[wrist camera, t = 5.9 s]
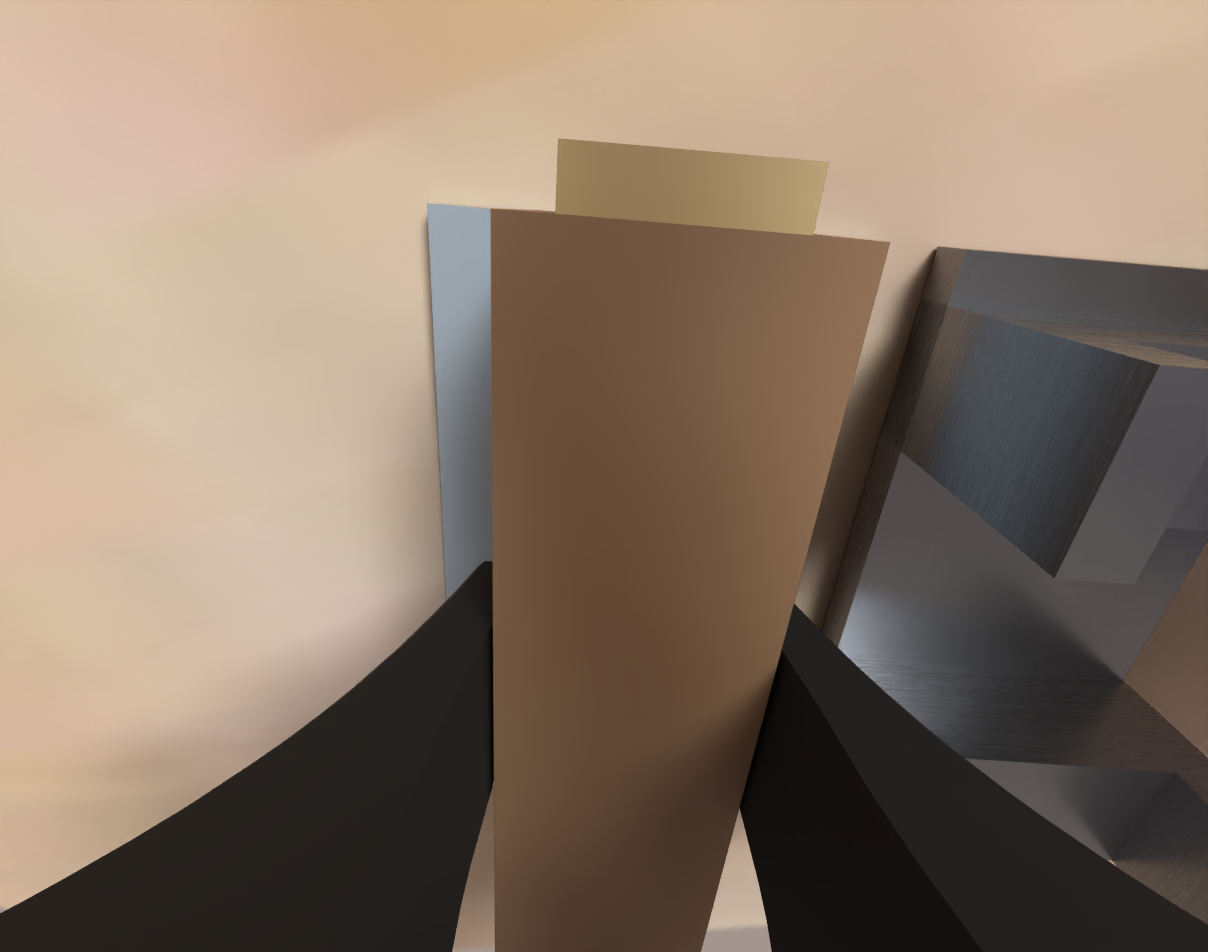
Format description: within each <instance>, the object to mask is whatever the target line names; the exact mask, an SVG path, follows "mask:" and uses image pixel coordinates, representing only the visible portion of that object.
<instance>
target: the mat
mask: <svg viewBox="0 0 1208 952" xmlns="http://www.w3.org/2000/svg"><path fill="white" fill-rule="evenodd" d="M427 211H428V231H429V252H430V273H431V293H432V314H433V335H434V355H435V376H436V397H437V417H438V438H439V459H440V479H441V500H442V521H443V541H444V562H445V583H446V600H447V599H448V598H449V597H450V596H451V595H452V594H453V593H454V592H455V591H456V590H457V589H458V588H459V587H460V585H461V584H462V583H463V582H464V581H465V580H466V579H467V578H468V577H469V576H470V574H471V573H472V572H473V571H474V570H475V569H476V568H477V567H478V566H479V565H480V564H481V563H483V562H484V561H493V538H492V375H491V213H490V209H489V208H477V207H465V206H453V205H441V204H427ZM492 787H494V783H493V786H492Z"/></svg>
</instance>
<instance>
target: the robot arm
mask: <svg viewBox="0 0 1208 952" xmlns="http://www.w3.org/2000/svg"><path fill="white" fill-rule="evenodd" d="M493 783H494V700H493V561H484V562H483V563H481V564H480V565H479V566H478V567H477V568H476V569H475V570H474V571H473V572H472V573H471V574H470V576H469V577H468V578H467V579H466V580H465V581H464V582H463V583H462V584H461V585H460V587H459V588H458V589H457V590H456V591H455V592H454V593H453V594H452V595H451V596H450V597H449V598H448V599H447V600H446V601H445V603H444V604H443V605H442V606H441V607H440V608H439V609H438V610H437V611H436V612H435V613H434V614H433V615H432V616H431V617H430V618H429V619H428V620H427V621H426V622H425V623H424V624H423V625H422V626H421V627H420V628H419V629H418V630H417V631H416V632H415V633H414V634H413V635H412V636H411V637H409V638H408V639H407V640H406V641H405V642H404V643H403V644H402V645H401V646H400V647H399V648H398V649H397V650H396V651H395V652H393V653H392V654H391V655H390V656H389V657H388V658H387V659H385V660H384V661H383V662H382V663H381V664H380V665H379V666H378V667H376V668H375V669H374V670H373V671H372V672H371V673H370V674H369V675H367V676H366V677H365V678H364V679H363V680H362V681H361V682H359V683H358V684H357V685H356V686H355V687H354V688H352V689H351V690H350V691H349V692H348V693H346V694H345V695H344V696H343V697H341V698H340V699H339V700H338V701H336V702H335V703H334V704H333V705H331V706H330V707H329V708H328V709H326V710H325V711H324V712H323V713H321V714H320V715H319V716H317V717H316V718H315V719H313V720H312V721H311V722H309V723H308V724H307V725H305V726H304V727H303V728H302V729H300V730H299V731H298V732H296V733H295V734H294V735H292V736H291V737H290V738H288V739H287V740H285V741H284V742H283V743H281V744H280V745H278V746H277V747H275V748H274V749H273V750H271V751H270V752H268V753H267V754H265V755H264V756H262V757H261V758H260V759H258V760H257V761H255V762H254V763H252V764H251V765H249V766H248V767H246V768H245V769H243V770H242V771H240V772H239V773H237V774H236V775H234V776H233V777H231V778H230V779H228V780H227V781H225V782H224V783H222V784H221V785H219V786H218V787H216V788H214V789H213V790H211V791H210V792H208V793H207V794H205V795H204V796H202V797H201V798H199V799H198V800H196V801H195V802H193V803H192V804H190V805H189V806H187V807H185V808H184V809H182V810H180V811H179V812H177V813H176V814H174V815H172V816H171V817H169V818H167V819H166V820H164V821H162V822H161V823H159V824H157V825H156V826H154V827H152V828H151V829H149V830H147V831H146V832H144V833H142V834H141V835H139V836H137V837H136V838H134V839H132V840H131V841H129V842H127V843H126V844H124V845H122V846H120V847H119V848H117V849H115V850H113V851H112V852H110V853H108V854H107V855H105V856H103V857H101V858H100V859H98V860H96V861H94V862H93V863H91V864H89V865H87V866H86V867H84V868H82V869H80V870H79V871H77V872H75V873H73V874H72V875H70V876H68V877H66V878H65V879H63V880H61V881H59V882H57V883H56V884H54V885H52V886H50V887H48V888H46V889H45V890H43V891H41V892H39V893H37V894H36V895H34V896H32V897H30V898H28V899H27V900H25V901H23V902H21V903H19V904H17V905H15V906H13V907H11V908H10V909H8V910H6V911H4V912H2V913H0V952H452V949H453V944H454V939H455V934H456V928H457V923H458V918H459V913H460V908H461V903H462V898H463V894H464V890H465V886H466V882H467V878H468V873H469V869H470V865H471V862H472V858H473V854H474V851H475V847H476V844H477V840H478V836H479V833H480V829H481V826H482V822H483V818H484V815H485V811H486V808H487V804H488V801H489V797H490V793H491V790H492V786H493ZM740 811H741V815H742V819H743V823H744V827H745V831H746V835H747V839H748V843H749V847H750V851H751V855H752V858H753V862H754V866H755V870H756V874H757V878H758V882H759V887H760V891H761V896H762V901H763V905H764V910H765V915H766V919H767V925H768V931H769V937H770V943H771V949H772V952H1208V924H1206V923H1204V922H1203V921H1201V920H1200V919H1198V918H1196V917H1195V916H1193V915H1191V914H1190V913H1188V912H1186V911H1185V910H1183V909H1182V908H1180V907H1178V906H1177V905H1175V904H1174V903H1172V902H1170V901H1169V900H1167V899H1166V898H1164V897H1163V896H1161V895H1159V894H1158V893H1156V892H1155V891H1153V890H1152V889H1150V888H1149V887H1147V886H1145V885H1144V884H1142V883H1141V882H1139V881H1138V880H1136V879H1134V878H1133V877H1131V876H1130V875H1128V874H1127V873H1125V872H1124V871H1122V870H1121V869H1119V868H1117V867H1116V866H1114V865H1113V864H1111V863H1110V862H1109V861H1107V860H1106V859H1104V858H1103V857H1101V856H1100V855H1098V854H1097V853H1095V852H1094V851H1092V850H1091V849H1089V848H1088V847H1087V846H1085V845H1084V844H1082V843H1081V842H1079V841H1078V840H1076V839H1075V838H1073V837H1072V836H1070V835H1069V834H1067V833H1066V832H1064V831H1063V830H1062V829H1060V828H1059V827H1057V826H1056V825H1054V824H1053V823H1051V822H1050V821H1048V820H1047V819H1045V818H1044V817H1043V816H1041V815H1040V814H1038V813H1037V812H1036V811H1034V810H1033V809H1031V808H1030V807H1029V806H1027V805H1026V804H1025V803H1023V802H1022V801H1020V800H1019V799H1018V798H1016V797H1015V796H1013V795H1012V794H1011V793H1009V792H1008V791H1007V790H1005V789H1004V788H1003V787H1001V786H1000V785H999V784H997V783H996V782H995V781H994V780H992V779H991V778H990V777H988V776H987V775H986V774H984V773H983V772H982V771H981V770H979V769H978V768H977V767H975V766H974V765H973V764H971V763H970V762H969V761H967V760H966V759H965V758H964V757H962V756H961V755H960V754H958V753H957V752H956V751H954V750H953V749H952V748H951V747H949V746H948V745H947V744H946V743H945V742H943V741H942V740H941V739H940V738H938V737H937V736H936V735H935V734H933V733H932V732H931V731H930V730H929V729H927V728H926V727H925V726H924V725H923V724H922V723H921V722H919V721H918V720H917V719H916V718H915V717H914V716H912V715H911V714H910V713H909V712H908V711H907V710H906V709H904V708H903V707H902V706H901V705H900V704H899V703H897V702H896V701H895V700H894V699H893V698H892V697H891V696H889V695H888V694H887V693H886V692H885V691H884V690H883V689H882V688H881V687H879V686H878V685H877V684H876V683H875V682H874V681H873V680H872V679H871V678H870V677H869V676H867V675H866V674H865V673H864V672H863V671H862V670H861V669H860V668H859V667H858V666H857V665H856V664H855V663H854V662H853V661H852V660H851V659H849V658H848V657H847V656H846V655H845V654H844V653H843V652H842V651H841V650H840V649H839V648H838V647H837V646H836V645H835V644H834V643H833V642H832V641H831V640H830V639H829V638H828V637H827V636H826V635H825V634H824V633H823V632H822V631H821V630H820V629H819V628H818V627H817V626H816V625H815V624H814V623H813V622H812V621H811V620H810V619H809V618H808V617H807V616H806V615H805V614H804V613H803V612H802V611H801V610H800V609H799V608H798V607H797V606H796V605H795V604H794V605H793V608H792V612H791V616H790V620H789V623H788V627H787V631H786V635H785V638H784V642H783V646H782V650H781V653H780V657H779V661H778V665H777V668H776V672H775V676H774V680H773V683H772V687H771V691H770V695H769V698H768V702H767V706H766V709H765V713H764V717H763V721H762V724H761V728H760V732H759V736H758V739H757V743H756V747H755V751H754V754H753V758H752V762H751V766H750V769H749V773H748V777H747V781H746V784H745V788H744V792H743V796H742V799H741V803H740Z"/></svg>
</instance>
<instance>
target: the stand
mask: <svg viewBox="0 0 1208 952" xmlns="http://www.w3.org/2000/svg"><path fill="white" fill-rule="evenodd" d="M1207 541H1208V269H1196V268H1184V267H1172V266H1161V265H1149V264H1137V263H1125V262H1113V261H1102V260H1090V259H1078V258H1066V257H1054V256H1043V255H1031V254H1019V253H1007V252H996V251H984V250H972V249H960V248H948V247H937V250H936V253H935V257H934V260H933V263H932V267H931V270H930V273H929V277H928V280H927V283H926V287H925V290H924V293H923V297H922V300H921V303H920V307H919V310H918V313H917V317H916V320H915V323H914V327H913V330H912V333H911V337H910V340H909V343H908V347H907V350H906V353H905V357H904V360H903V363H902V366H901V370H900V373H899V376H898V380H897V383H896V386H895V390H894V393H893V396H892V400H891V403H890V406H889V410H888V413H887V416H886V420H885V423H884V426H883V430H882V433H881V436H880V440H879V443H878V446H877V450H876V453H875V456H874V460H873V463H872V466H871V470H870V473H869V476H868V480H867V483H866V486H865V490H864V493H863V496H862V499H861V503H860V506H859V509H858V513H857V516H856V519H855V523H854V526H853V529H852V533H851V536H850V539H849V543H848V546H847V549H846V553H845V556H844V559H843V563H842V566H841V569H840V573H839V576H838V579H837V583H836V586H835V589H834V593H833V596H832V599H831V603H830V606H829V609H828V613H827V616H826V619H825V623H824V626H823V629H822V632H823V633H824V634H825V635H826V636H827V637H828V638H829V639H830V640H831V641H832V642H833V643H834V644H835V645H836V646H837V647H838V648H839V649H840V650H841V651H842V652H843V653H844V654H845V655H846V656H847V657H848V658H849V659H851V660H852V661H853V662H854V663H855V664H856V665H857V666H858V667H859V668H860V669H861V670H862V671H863V672H864V673H865V674H866V675H867V676H869V677H870V678H871V679H872V680H873V681H874V682H875V683H876V684H877V685H878V686H879V687H881V688H882V689H883V690H884V691H885V692H886V693H887V694H888V695H889V696H891V697H892V698H893V699H894V700H895V701H896V702H897V703H899V704H900V705H901V706H902V707H903V708H904V709H906V710H907V711H908V712H909V713H910V714H911V715H912V716H914V717H915V718H916V719H917V720H918V721H919V722H921V723H922V724H923V725H924V726H925V727H926V728H927V729H929V730H930V731H931V732H932V733H933V734H935V735H936V736H937V737H938V738H940V739H941V740H942V741H943V742H945V743H946V744H947V745H948V746H949V747H951V748H952V749H953V750H954V751H956V752H957V753H958V754H960V755H961V756H962V757H964V758H965V759H966V760H967V761H969V762H970V763H971V764H973V765H974V766H975V767H977V768H978V769H979V770H981V771H982V772H983V773H984V774H986V775H987V776H988V777H990V778H991V779H992V780H994V781H995V782H996V783H997V784H999V785H1000V786H1001V787H1003V788H1004V789H1005V790H1007V791H1008V792H1009V793H1011V794H1012V795H1013V796H1015V797H1016V798H1018V799H1019V800H1020V801H1022V802H1023V803H1025V804H1026V805H1027V806H1029V807H1030V808H1031V809H1033V810H1034V811H1036V812H1037V813H1038V814H1040V815H1041V816H1043V817H1044V818H1045V819H1047V820H1048V821H1050V822H1051V823H1053V824H1054V825H1056V826H1057V827H1059V828H1060V829H1062V830H1063V831H1064V832H1066V833H1067V834H1069V835H1070V836H1072V837H1073V838H1075V839H1076V840H1078V841H1079V842H1081V843H1082V844H1084V845H1085V846H1087V847H1088V848H1089V849H1091V850H1092V851H1094V852H1095V853H1097V854H1098V855H1100V856H1101V857H1103V858H1104V859H1106V860H1112V861H1113V862H1114V863H1115V864H1116V866H1117V867H1118V868H1119V869H1121V870H1122V871H1124V872H1125V873H1127V874H1128V875H1130V876H1131V877H1133V878H1134V879H1136V880H1138V881H1139V882H1141V883H1142V884H1144V885H1145V886H1147V887H1149V888H1150V889H1152V890H1153V891H1155V892H1156V893H1158V894H1159V895H1161V896H1163V897H1164V898H1166V899H1167V900H1169V901H1170V902H1172V903H1174V904H1175V905H1177V906H1178V907H1180V908H1182V909H1183V910H1185V911H1186V912H1188V913H1190V914H1191V915H1193V916H1195V917H1196V918H1198V919H1200V920H1201V921H1203V922H1204V923H1206V924H1208V758H1207V757H1206V756H1205V755H1204V754H1203V753H1202V752H1201V751H1199V750H1198V749H1197V748H1196V747H1195V746H1194V745H1193V744H1192V743H1191V742H1190V741H1189V740H1187V739H1186V738H1185V737H1184V736H1183V735H1182V734H1181V733H1180V732H1179V731H1178V730H1177V729H1175V728H1174V727H1173V726H1172V725H1171V724H1170V723H1169V722H1168V721H1167V720H1166V719H1165V718H1163V717H1162V716H1161V715H1160V714H1159V713H1158V712H1157V711H1156V710H1155V709H1154V708H1153V707H1151V706H1150V705H1149V704H1148V703H1147V702H1146V701H1145V700H1144V699H1143V698H1142V697H1141V696H1139V695H1138V694H1137V693H1136V692H1135V691H1134V690H1133V689H1132V688H1131V687H1130V686H1129V685H1127V684H1126V683H1125V682H1124V681H1123V679H1124V677H1125V676H1126V674H1127V673H1128V671H1129V669H1130V668H1131V666H1132V664H1133V663H1134V661H1135V659H1136V658H1137V656H1138V654H1139V653H1140V651H1141V650H1142V648H1143V646H1144V645H1145V643H1146V641H1147V640H1148V638H1149V636H1150V635H1151V633H1152V631H1153V630H1154V628H1155V627H1156V625H1157V623H1158V622H1159V620H1160V618H1161V617H1162V615H1163V613H1164V612H1165V610H1166V609H1167V607H1168V605H1169V604H1170V602H1171V600H1172V599H1173V597H1174V595H1175V594H1176V592H1177V590H1178V589H1179V587H1180V586H1181V584H1182V582H1183V581H1184V579H1185V577H1186V576H1187V574H1188V572H1189V571H1190V569H1191V567H1192V566H1193V564H1194V563H1195V561H1196V559H1197V558H1198V556H1199V554H1200V553H1201V551H1202V549H1203V548H1204V546H1205V545H1206V543H1207Z"/></svg>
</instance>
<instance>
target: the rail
mask: <svg viewBox="0 0 1208 952" xmlns="http://www.w3.org/2000/svg"><path fill="white" fill-rule="evenodd" d="M828 164H829V162H823V161H811V160H800V159H788V158H777V157H765V156H754V155H742V154H731V153H720V152H708V151H697V150H685V149H674V148H662V147H651V146H639V145H628V144H616V143H605V142H593V141H582V140H571V139H559V138H558V157H557V184H556V211H555V212H552V211H540V210H515V209H490V213H491V375H492V538H493V700H494V863H495V952H701V949H702V945H703V942H704V938H705V934H706V931H707V927H708V923H709V919H710V916H711V912H712V908H713V904H714V901H715V897H716V893H717V889H718V886H719V882H720V878H721V874H722V871H723V867H724V863H725V859H726V856H727V852H728V848H729V844H730V841H731V837H732V833H733V829H734V826H735V822H736V818H737V814H738V811H739V807H740V803H741V799H742V796H743V792H744V788H745V784H746V781H747V777H748V773H749V769H750V766H751V762H752V758H753V754H754V751H755V747H756V743H757V739H758V736H759V732H760V728H761V724H762V721H763V717H764V713H765V709H766V706H767V702H768V698H769V695H770V691H771V687H772V683H773V680H774V676H775V672H776V668H777V665H778V661H779V657H780V653H781V650H782V646H783V642H784V638H785V635H786V631H787V627H788V623H789V620H790V616H791V612H792V608H793V605H794V601H795V597H796V593H797V590H798V586H799V582H800V578H801V575H802V571H803V567H804V563H805V560H806V556H807V552H808V548H809V545H810V541H811V537H812V533H813V530H814V526H815V522H816V518H817V515H818V511H819V507H820V503H821V500H822V496H823V492H824V488H825V485H826V481H827V477H828V473H829V470H830V466H831V462H832V459H833V455H834V451H835V447H836V444H837V440H838V436H839V432H840V429H841V425H842V421H843V417H844V414H845V410H846V406H847V402H848V399H849V395H850V391H851V387H852V384H853V380H854V376H855V372H856V369H857V365H858V361H859V357H860V354H861V350H862V346H863V342H864V339H865V335H866V331H867V327H868V324H869V320H870V316H871V312H872V309H873V305H874V301H875V297H876V294H877V290H878V286H879V282H880V279H881V275H882V271H883V267H884V264H885V260H886V256H887V252H888V249H889V245H890V242H882V241H872V240H863V239H853V238H844V237H834V236H825V235H815V234H814V230H815V225H816V220H817V216H818V211H819V206H820V202H821V197H822V192H823V188H824V183H825V178H826V173H827V169H828Z"/></svg>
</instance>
